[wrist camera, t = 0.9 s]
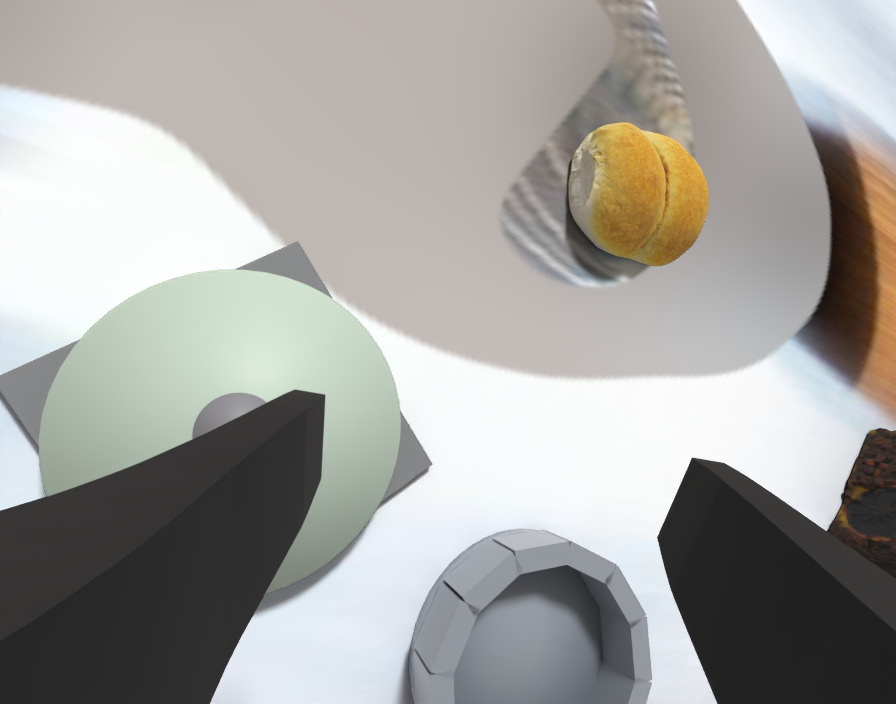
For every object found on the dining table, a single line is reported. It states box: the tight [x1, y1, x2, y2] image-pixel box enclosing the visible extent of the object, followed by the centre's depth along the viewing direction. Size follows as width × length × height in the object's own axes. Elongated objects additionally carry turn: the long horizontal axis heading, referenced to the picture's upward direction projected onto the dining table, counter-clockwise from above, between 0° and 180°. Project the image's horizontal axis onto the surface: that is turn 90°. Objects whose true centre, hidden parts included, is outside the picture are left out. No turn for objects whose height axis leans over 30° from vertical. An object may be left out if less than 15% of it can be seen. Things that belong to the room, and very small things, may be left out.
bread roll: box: [568, 123, 709, 266], centre depth 27 cm, size 8×9×4 cm
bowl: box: [409, 529, 652, 704], centre depth 21 cm, size 11×11×3 cm
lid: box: [39, 270, 401, 594], centre depth 17 cm, size 13×13×4 cm
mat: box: [0, 241, 432, 503], centre depth 19 cm, size 12×12×1 cm
